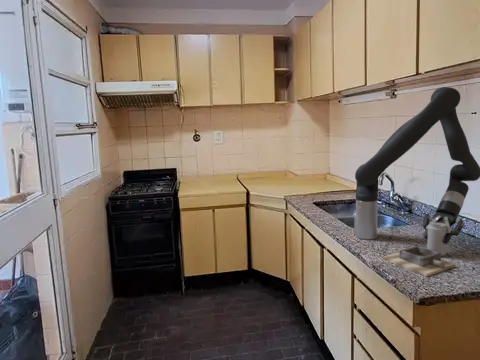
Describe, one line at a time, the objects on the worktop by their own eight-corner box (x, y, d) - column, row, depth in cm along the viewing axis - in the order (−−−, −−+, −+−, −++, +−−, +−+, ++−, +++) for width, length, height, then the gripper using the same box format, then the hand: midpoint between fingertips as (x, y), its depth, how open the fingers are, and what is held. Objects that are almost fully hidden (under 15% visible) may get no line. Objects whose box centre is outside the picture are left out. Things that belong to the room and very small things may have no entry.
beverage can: (424, 254, 135) (425, 224, 134) (430, 249, 140) (431, 220, 138) (443, 258, 131) (444, 227, 129) (448, 253, 135) (449, 223, 133)
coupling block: (383, 259, 133) (383, 249, 132) (410, 251, 139) (411, 241, 139) (426, 276, 117) (426, 265, 116) (455, 266, 123) (455, 256, 123)
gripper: (429, 197, 142) (412, 231, 137) (468, 202, 131) (451, 240, 126) (435, 207, 146) (419, 241, 141) (473, 213, 134) (458, 250, 130)
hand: (434, 240), depth 133 cm, fingers closed on beverage can, 6 cm apart
